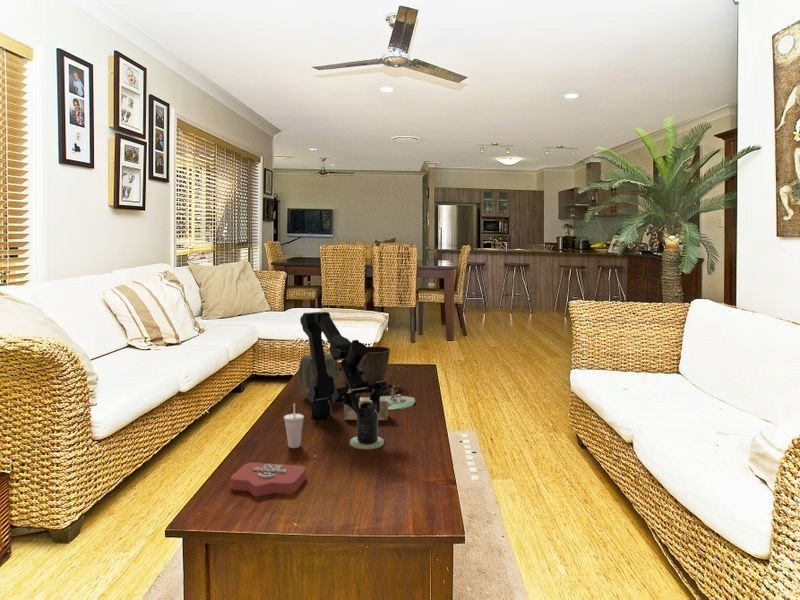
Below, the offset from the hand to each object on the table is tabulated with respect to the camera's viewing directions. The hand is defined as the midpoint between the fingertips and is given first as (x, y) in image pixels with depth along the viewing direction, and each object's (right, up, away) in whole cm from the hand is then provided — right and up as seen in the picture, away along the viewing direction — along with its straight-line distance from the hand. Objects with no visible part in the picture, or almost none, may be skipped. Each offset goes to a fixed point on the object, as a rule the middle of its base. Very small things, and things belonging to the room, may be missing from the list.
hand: (369, 413), depth 184 cm
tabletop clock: (-25, -4, +58) cm, 63 cm away
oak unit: (-3, -7, +30) cm, 31 cm away
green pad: (-1, -10, +3) cm, 11 cm away
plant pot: (-2, -2, +80) cm, 80 cm away
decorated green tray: (+3, -6, +51) cm, 51 cm away
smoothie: (-24, -10, 0) cm, 26 cm away
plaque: (-26, -14, -29) cm, 41 cm away
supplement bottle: (-1, -9, +2) cm, 9 cm away
